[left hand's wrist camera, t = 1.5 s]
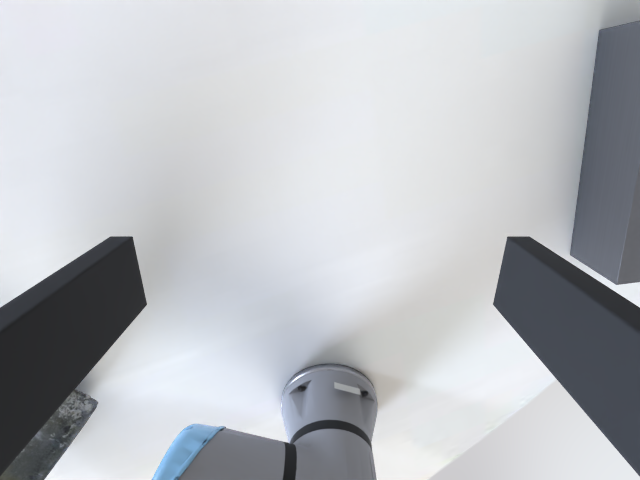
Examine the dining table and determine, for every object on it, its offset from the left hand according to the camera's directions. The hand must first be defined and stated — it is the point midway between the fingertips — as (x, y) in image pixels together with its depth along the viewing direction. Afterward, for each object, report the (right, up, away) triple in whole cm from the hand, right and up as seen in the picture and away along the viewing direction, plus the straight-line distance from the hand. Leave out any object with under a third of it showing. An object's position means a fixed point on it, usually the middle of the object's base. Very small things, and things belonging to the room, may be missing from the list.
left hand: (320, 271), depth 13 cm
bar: (+34, +12, +29) cm, 46 cm away
